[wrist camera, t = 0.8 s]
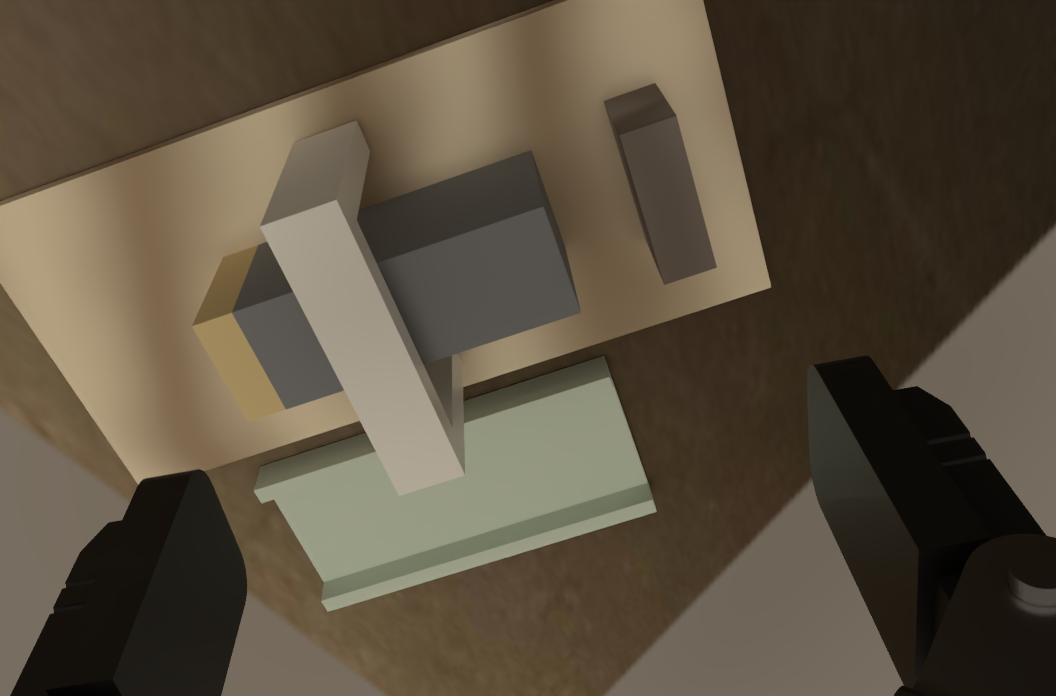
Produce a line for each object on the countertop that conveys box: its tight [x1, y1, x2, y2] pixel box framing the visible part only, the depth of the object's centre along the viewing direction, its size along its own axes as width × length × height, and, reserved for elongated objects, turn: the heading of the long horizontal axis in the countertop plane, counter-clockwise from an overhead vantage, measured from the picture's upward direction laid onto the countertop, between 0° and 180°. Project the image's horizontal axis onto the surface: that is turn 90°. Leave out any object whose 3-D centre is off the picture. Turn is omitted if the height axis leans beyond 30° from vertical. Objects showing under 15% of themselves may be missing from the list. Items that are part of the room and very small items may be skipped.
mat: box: [254, 356, 657, 612], centre depth 37 cm, size 13×6×1 cm, turn 109°
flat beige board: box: [0, 0, 771, 485], centre depth 31 cm, size 23×11×4 cm, turn 109°
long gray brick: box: [192, 150, 581, 422], centre depth 30 cm, size 10×3×4 cm, turn 109°
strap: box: [260, 120, 465, 496], centre depth 29 cm, size 2×9×6 cm, turn 19°
